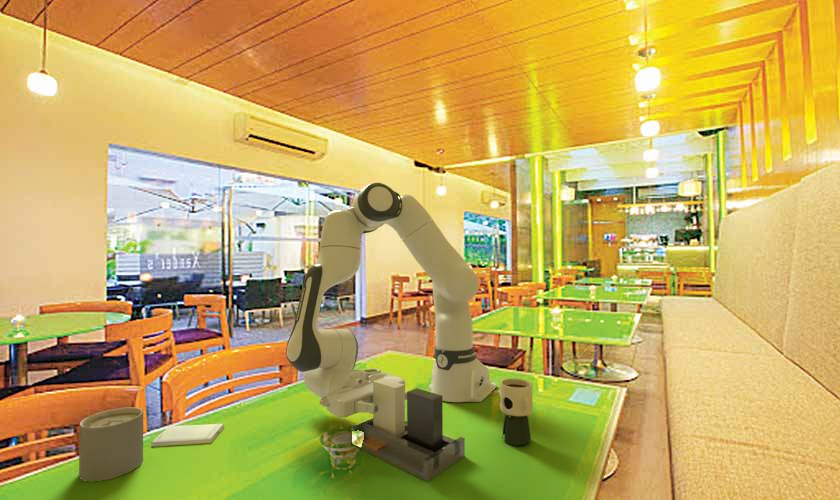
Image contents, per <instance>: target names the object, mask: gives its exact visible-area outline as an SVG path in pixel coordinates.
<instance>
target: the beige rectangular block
mask: <svg viewBox="0 0 840 500" xmlns="http://www.w3.org/2000/svg"><path fill="white" fill-rule="evenodd" d="M405 392H406V384H405V385H404V384H401V383H397V382H394V381H390V380H387V379H384V378H382V379H379V380H376V381H373V403H376V404H378V412H376V413H374V414H372V418H373V427H376V428H378V429H380V430H383V431H385V432H388V433H390V434H392V435H395V436H397V435H399V434H401V433H403V432H405V421H406V413H405V412H406V410H405V408H406V404H405V403H406V400H405Z"/></svg>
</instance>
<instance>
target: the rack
mask: <svg viewBox="0 0 840 500" xmlns="http://www.w3.org/2000/svg"><path fill="white" fill-rule="evenodd" d="M406 392H407V400H406V412H407V413H406V420H407V421H406V420H405V432H403V433H401V434H399V435H397V436H395V435H392V434H390V433H388V432H385V431H383V430H380V429H378V428H376V427H373V417H372V418H371V419H368V420H365V421H363V422H361V423H359V424H356V425H354V426H351V427H350V428H351V431H357V430H359V431H362V432H364V440H363V443H362V447H361V449H360V450H362V451H365V453H368V454H371V455H372V456H374V457H377V458H378V459H381V460H383V461H385V462H387V463H389V464H391V465H393V466H395V467H397V468H399V469H401V470H403V471H405V472H407V473H410V474H411V475H412V476H416V477H418V478H419V479H422V480H423V481H424V482H429V481H430V480H432V479H433V478H435V477H436V476H438V475H439V474H441V473H442V472H444V471H445V470H447V469H449V468H450V467H451V466H453V465H454V464H455V463H457V462H459V461H460V460H461V459H463V458H464V457H466V454H465V453H466V451H465V449H466V448H465V445H466V443H465V439H466V438H465V437H462V436H460V437H458V438H457V439H455V438H451V437H449V436H446V435H444V434H443V433H444V431H443V430H444V428H443V423H444V422H443V417H444V416H443V412H444V411H443V401H442V395H438V394H435V393H431V391H427V390H425V389H421V388H418V387H417V388H413V389H411V390H408V391H406Z"/></svg>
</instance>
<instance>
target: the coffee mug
mask: <svg viewBox="0 0 840 500" xmlns="http://www.w3.org/2000/svg"><path fill="white" fill-rule="evenodd" d="M78 427H79V429H78V430H79V436H78V439H79V442H78V443H79V446H78V447H79V451H78V452H79V454H78V455H79V456H78V460H79V461H78V462H79V463H78V469H79V470H78V478H79V477H80V478H81V479H82V480H86V481H99V482H103V481H102V480H105V481H109V480H113V479H116V477H117V478H119V477H122V476H124V475H123V474H125V475H126V473H127V474H129V473H131V472H132V470H133V469H134V470H136V469H137V468H138V466H139V465H140V464H141V465H142V464H143V462H144V410H143V409H142V408H140V407H133V406H130V407H129V406H128V407H127V406H126V407H118V408H113V409H107V410H104V411H100V412H97V413H94V414H91V415H88V416H87V417H86V418H84V419H82V420H81V421H80V422H79V425H78ZM141 465H140V466H141ZM135 468H136V469H135ZM134 470H133V471H134ZM130 471H131V472H130ZM128 472H129V473H128ZM121 475H122V476H121ZM118 476H119V477H118ZM80 478H79V479H80ZM112 478H113V479H112ZM108 479H109V480H108ZM82 480H81V481H82Z"/></svg>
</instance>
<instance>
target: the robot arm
mask: <svg viewBox="0 0 840 500" xmlns="http://www.w3.org/2000/svg"><path fill="white" fill-rule="evenodd" d="M385 224H386V225H388V226H389V227H391V228H392V229H393V230H394V231H395V232H396V233H397V235H398V236H399V238H400V240H401V241H402V242H403V243H404V245H405V246H406V248H407V249H408V251H409V252H410V254H411V255H412V257H413V258H414V260H415V261H416V262H417V264H418V265H419V266H420V267H421V268H422V269H423V270H424V272H425V273H426V275H427V277H429V278H430V280H431V282H432V297H433V308H434V316H435V317H434V318H435V345H434V348H433V349H434V350H433V355H434V361H433V363H432V374H431V383H429V384H428V385H429V386H428V388H429V390H430V392H431V393H435V394H438V395H442V402H448V403H449V402H450V403H466V402H471V403H472V402H475V403H480V402H482V401H483V400H485V399H487V397H488V396H489V395H490V394H491V393H492V391H493V390H494V389H495V388H496V387H497V388H498V384H497V383H496V382H494V381H492V380H490V371H489V368H488V367H487V366H486V365H484V364H483V362H481V361H480V360H479V359H478V358H477V354H480V353H481V349H482V348H481V346H479V345H474V343H473V338H474V337H473V333H474V332H473V329H474V327H473V325H474V324H473V323H474V322H473V318H472V315H471V310H470V303H469V301H470V300H472V299H474V297H475V296H476V295H477V294H478V291H479V288H480V281H479V277H478V276H477V275H476V273H475V271H474V270H473V269H472V268H471V267H470V265H469V264H468V262H466V260H465V259H464V258H463V257H462V255H460V254H459V252H458V251H457V250H456V248H454V246H453V245H452V244H451V243H450V242H449V240H448V239H447V238H446V237H445V235H444V234H443V232H442V230H440V228H439V227H438V225H437V223H436V222H435V220H434V219H433V218H432V216H431V215H430V214H429V212H428V211H427V210H426V208H425V207H424V206H423V205H422V204H421V203H420V202H419V201H418V200H417V199H416V198H415V197H414V196H413V195H411V194H402V195H400V194H399V193H398V192H397V191H394V190H393V189H392V187H390V186H388V185H386V184H384V183H382V182H373V183H369V184H367V185H365V186H364V187H362V189H360V191H359V193H357V195H355V196H354V199H353V201H352V203H351V205H350V206H349V208H348V209H335V210H333V211H330V212H328V213H327V215H326V216H325V217H324V220H323V225H322V229H321V235H320V241H319V242H320V243H319V253H318V256H317V260H316V262H315V263H314V265H312V266H310V267H309V268H308V270H307V272H306V275H305V277H304V281H303V284H302V288H301V292H300V297H299V302H298V306H297V311H296V314H295V318H294V322H293V328H292V331H291V333H290V335H289V338H288V341H287V344H286V348H285V356H286V359H287V361H288V362H289V364H290V365H291V366H292V367H293V368H294V369H295V370H297V371H298V372H301V373H304V374H303V380H304V384H305V386H306V388H307V389H308V390H309V392H311V393H312V394H313V395H314V396H317V397H318V398H321V399H320V400H319V402H318V403H319V405H320V406H322V407H326V410H327V411H328V412H329V413H330V414H332V415H333V416H335V417H337V418H341V419H343V418H344V419H345V418H348V417H350V416H353V415H355V414H357V413H369V414H371V415H373V414H374V413H376V412H378V404H376V403H373V381H376V380H379V379H382V378H384V379H387V380H390V381H394V382H397V383H401V384H404V385H405V386H406V381H405V379H404V378H403V377H400V376H398V375H394V374H391V373H386V372H382V370H381V369H380V368H379V369H378V368H372V369H355V367H356V363H357V360H358V355H359V345H358V344H359V342H358V340H357V337H356V336H355V334H354V332H352V331H351V330H350V329H348V328H328V329H327V328H325V329H324V328H320V329H319V328H318V327H317V325H318V319H319V314H320V309H321V305H322V301H323V297H324V295H325V293H326V292H327V291H328V290H329V289H330V288H333V287H334V286H337V285H339V284H342V283H345V282H348V281H349V280H350V279H352V278H353V277H354V276H355V275H356V274H357V272H358V271H359V268H360V265H361V254H362V252H361V251H362V243H361V242H362V237H363V234H369V233H372V232H374V231H376V230H378V229H379V228H381V227H383V226H384V225H385ZM497 388H496V389H497ZM496 389H495V390H496ZM495 390H494V391H495ZM494 391H493V392H494ZM407 392H408V391H405V401H407Z"/></svg>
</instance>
